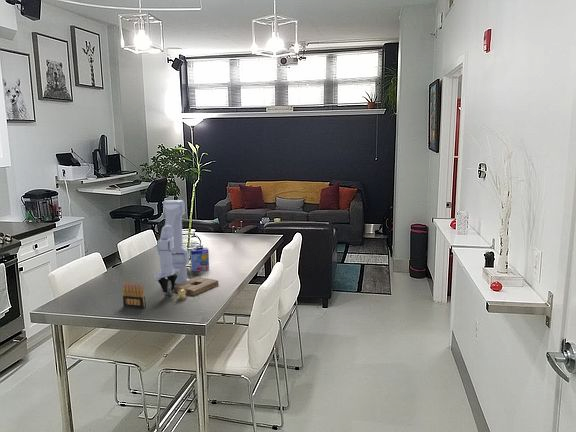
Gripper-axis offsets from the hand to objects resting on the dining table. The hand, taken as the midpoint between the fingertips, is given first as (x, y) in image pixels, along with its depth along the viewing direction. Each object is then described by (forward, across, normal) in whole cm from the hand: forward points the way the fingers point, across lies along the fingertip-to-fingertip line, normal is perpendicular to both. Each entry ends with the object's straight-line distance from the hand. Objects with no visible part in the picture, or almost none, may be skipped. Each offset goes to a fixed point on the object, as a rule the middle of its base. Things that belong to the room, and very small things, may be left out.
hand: (168, 290), depth 225 cm
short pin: (+2, 0, -9) cm, 9 cm away
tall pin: (+2, 0, 0) cm, 2 cm away
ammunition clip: (+3, -18, +3) cm, 18 cm away
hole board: (+2, +15, -4) cm, 16 cm away
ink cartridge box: (+3, +41, +17) cm, 44 cm away
